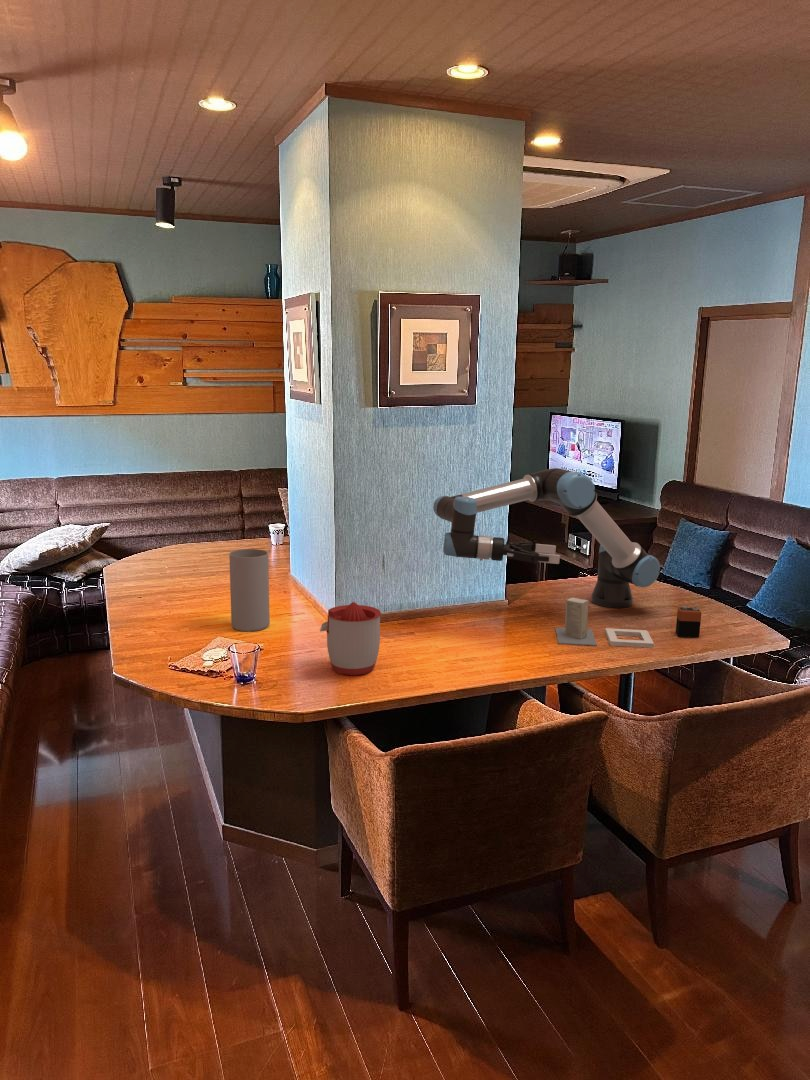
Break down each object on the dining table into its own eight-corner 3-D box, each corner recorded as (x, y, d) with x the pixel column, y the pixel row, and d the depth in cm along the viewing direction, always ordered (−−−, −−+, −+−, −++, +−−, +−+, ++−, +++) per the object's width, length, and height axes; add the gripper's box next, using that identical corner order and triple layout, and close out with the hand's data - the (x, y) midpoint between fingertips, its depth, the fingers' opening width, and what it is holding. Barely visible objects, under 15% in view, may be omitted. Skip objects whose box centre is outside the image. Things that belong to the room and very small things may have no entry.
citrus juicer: (320, 659, 240) (320, 594, 236) (379, 659, 242) (380, 594, 237) (319, 679, 225) (318, 610, 221) (381, 678, 226) (382, 609, 222)
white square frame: (605, 632, 270) (605, 628, 269) (646, 634, 268) (646, 630, 268) (610, 645, 257) (610, 641, 256) (653, 648, 255) (654, 643, 255)
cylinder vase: (224, 629, 266) (221, 555, 261) (243, 619, 278) (241, 547, 273) (258, 634, 262) (256, 558, 257) (276, 623, 274) (275, 550, 269)
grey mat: (555, 628, 273) (555, 627, 273) (591, 630, 272) (591, 629, 271) (558, 644, 257) (558, 642, 257) (596, 646, 256) (596, 644, 256)
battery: (675, 633, 270) (677, 604, 268) (696, 634, 270) (698, 605, 268) (678, 637, 266) (680, 608, 264) (699, 638, 266) (702, 609, 263)
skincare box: (587, 636, 264) (589, 600, 261) (580, 639, 261) (582, 603, 258) (570, 632, 268) (572, 596, 265) (563, 635, 265) (565, 599, 262)
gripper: (489, 550, 275) (552, 556, 273) (490, 569, 251) (559, 575, 249) (491, 529, 273) (555, 535, 272) (493, 545, 249) (562, 552, 247)
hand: (557, 554), depth 260 cm, fingers open, 13 cm apart
